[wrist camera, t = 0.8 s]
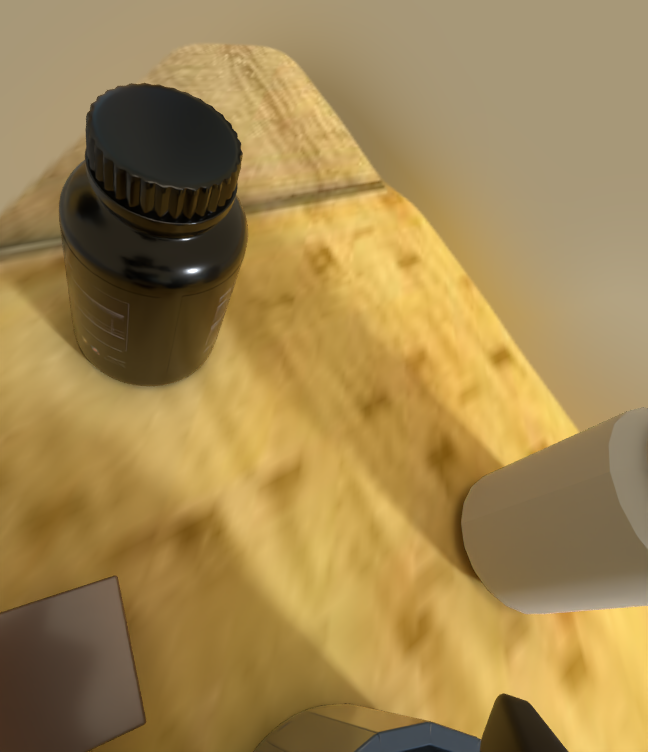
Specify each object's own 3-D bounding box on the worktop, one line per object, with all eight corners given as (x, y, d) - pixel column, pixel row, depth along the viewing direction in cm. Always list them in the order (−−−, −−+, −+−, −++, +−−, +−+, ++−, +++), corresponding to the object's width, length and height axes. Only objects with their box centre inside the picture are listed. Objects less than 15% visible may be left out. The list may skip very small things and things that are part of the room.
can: (570, 627, 27) (840, 614, 17) (451, 601, 25) (678, 570, 15) (554, 493, 31) (766, 420, 21) (451, 462, 29) (630, 366, 19)
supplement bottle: (158, 259, 28) (189, 46, 18) (239, 347, 27) (316, 175, 17) (40, 313, 24) (-4, 79, 14) (131, 418, 23) (151, 248, 13)
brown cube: (-2, 772, 16) (-32, 807, 13) (-17, 631, 18) (-47, 627, 14) (138, 709, 18) (146, 723, 15) (114, 587, 20) (117, 574, 16)
